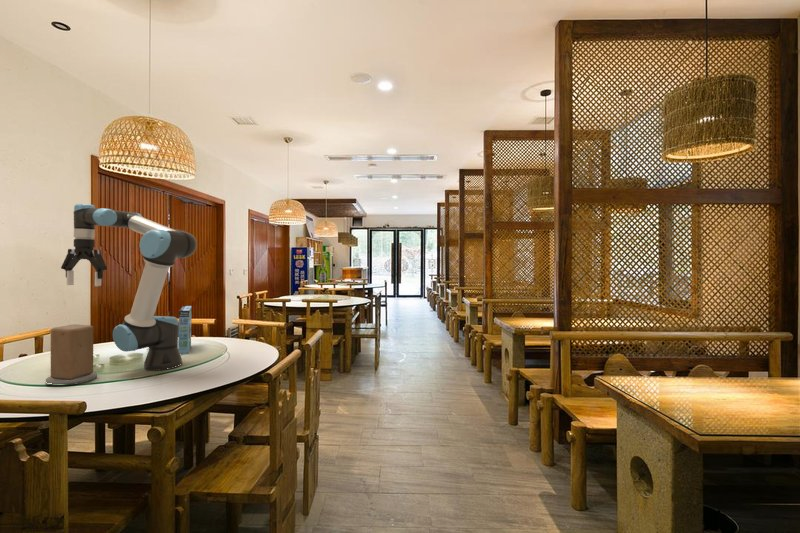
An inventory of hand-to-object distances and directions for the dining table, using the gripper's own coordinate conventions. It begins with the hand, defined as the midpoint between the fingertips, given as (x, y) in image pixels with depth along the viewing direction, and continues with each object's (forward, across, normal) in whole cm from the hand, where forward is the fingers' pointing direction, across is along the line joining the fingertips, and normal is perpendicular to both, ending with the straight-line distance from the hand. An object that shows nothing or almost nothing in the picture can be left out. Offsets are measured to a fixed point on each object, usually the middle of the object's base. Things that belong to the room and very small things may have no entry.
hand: (84, 285), depth 181 cm
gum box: (+37, -25, -36) cm, 57 cm away
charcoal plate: (+37, -14, +20) cm, 44 cm away
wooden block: (+35, -14, +20) cm, 43 cm away
